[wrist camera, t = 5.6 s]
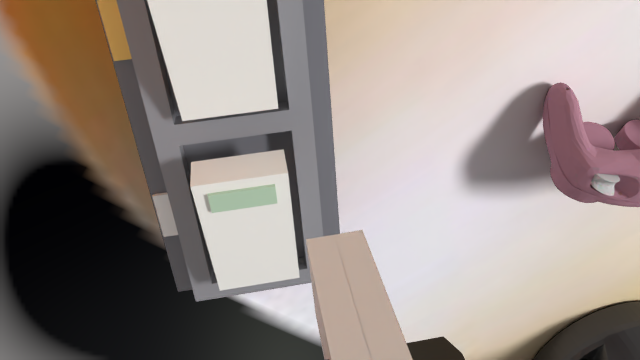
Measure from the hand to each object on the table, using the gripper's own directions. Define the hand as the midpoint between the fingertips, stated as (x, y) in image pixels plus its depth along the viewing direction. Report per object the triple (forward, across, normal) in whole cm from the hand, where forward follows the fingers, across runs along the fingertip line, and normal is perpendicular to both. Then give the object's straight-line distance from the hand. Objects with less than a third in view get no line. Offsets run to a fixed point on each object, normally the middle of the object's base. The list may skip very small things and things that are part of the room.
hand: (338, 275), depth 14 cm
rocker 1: (+9, +3, -5) cm, 11 cm away
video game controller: (+16, -19, +5) cm, 25 cm away
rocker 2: (+10, +3, +4) cm, 11 cm away
